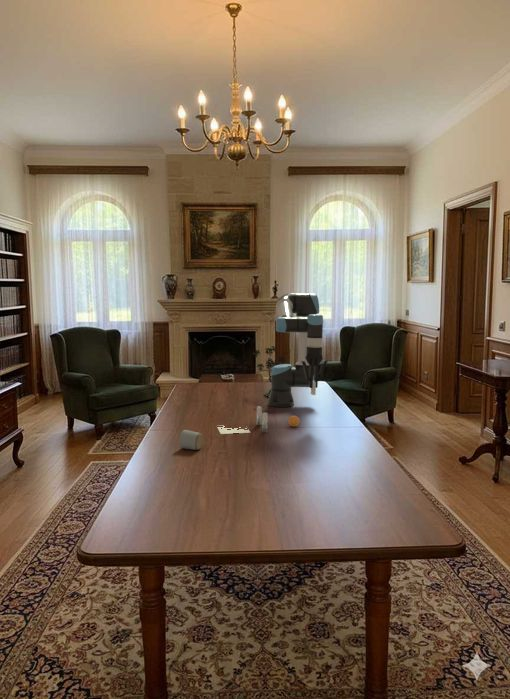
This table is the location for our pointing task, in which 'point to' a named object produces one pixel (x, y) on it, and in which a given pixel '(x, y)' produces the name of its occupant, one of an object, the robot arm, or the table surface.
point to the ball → (293, 421)
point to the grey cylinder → (190, 440)
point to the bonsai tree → (268, 363)
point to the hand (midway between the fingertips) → (313, 394)
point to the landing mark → (232, 430)
